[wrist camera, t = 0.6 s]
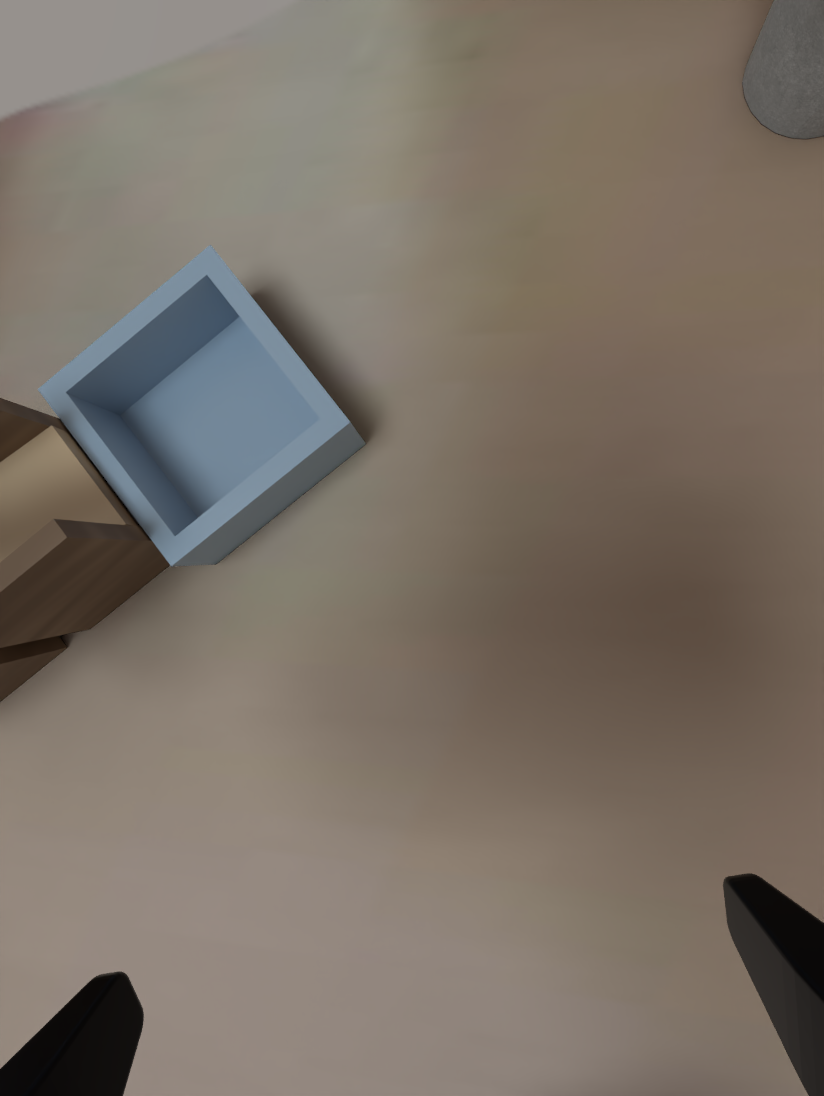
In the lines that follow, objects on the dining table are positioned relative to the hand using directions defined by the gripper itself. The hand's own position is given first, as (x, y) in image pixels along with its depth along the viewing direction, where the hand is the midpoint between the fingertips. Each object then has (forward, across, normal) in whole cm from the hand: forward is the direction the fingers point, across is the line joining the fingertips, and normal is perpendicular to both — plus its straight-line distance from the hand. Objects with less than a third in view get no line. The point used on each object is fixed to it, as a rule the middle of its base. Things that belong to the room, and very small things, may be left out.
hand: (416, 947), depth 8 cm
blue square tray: (+18, +7, -9) cm, 21 cm away
